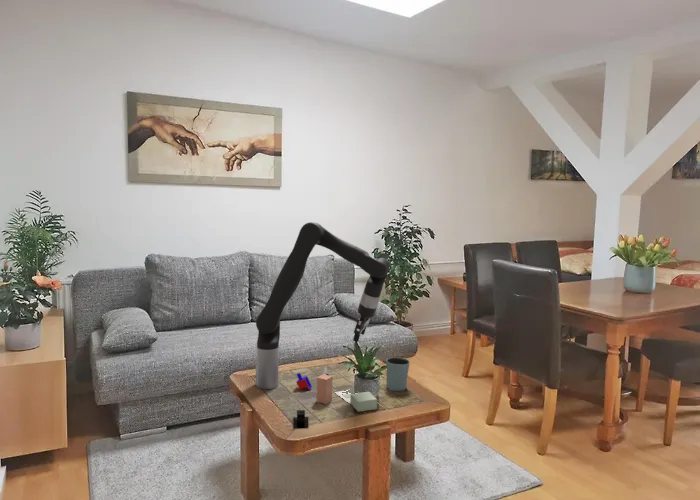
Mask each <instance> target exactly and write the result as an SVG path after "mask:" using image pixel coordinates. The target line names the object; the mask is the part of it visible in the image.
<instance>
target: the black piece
mask: <svg viewBox="0 0 700 500" xmlns="http://www.w3.org/2000/svg"><path fill="white" fill-rule="evenodd" d="M292 421H293V422H292V423H293V424H292V429H295V430H296V429H299V430H300V429H309V416H306V410H305V409H302V410H301V409H298V410H296V416H293V418H292Z"/></svg>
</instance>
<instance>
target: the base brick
mask: <svg viewBox="0 0 700 500" xmlns="http://www.w3.org/2000/svg"><path fill="white" fill-rule="evenodd" d="M349 404H350V405H351V404H352V405H353V406H352V405H351V406H352V407H353V408H354V409H355V410H356V411H357V412H364V411H371V410H373V411H374V410H377V409H378V399H377V398H376V396H374V394H373V393H372V392H370V391H365V392H364V391H363V392H358V393H355V394H351V399H350V403H349Z"/></svg>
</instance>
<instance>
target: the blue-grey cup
mask: <svg viewBox="0 0 700 500" xmlns="http://www.w3.org/2000/svg"><path fill="white" fill-rule="evenodd" d="M385 363H386V364H385V365H386V366H387V370H386V371H385V372H386V373H385V374H386V388H387V389H388V390H390V391H396V392H401V391H402V392H403V391H404V390H406V389H407V385H408V384H407V382H408V376H409V375H408V374H409V369H410V368H409V367H410V360H409V359H407V358H405V357H400V356H399V357H398V356H393V357H391V356H390V357H387V358H386V360H385Z"/></svg>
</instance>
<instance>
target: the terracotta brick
mask: <svg viewBox="0 0 700 500" xmlns="http://www.w3.org/2000/svg"><path fill="white" fill-rule="evenodd" d="M331 401H333V375H330V374H329V375H327V374H326V375H324V374H323V373H322V374H321V376H320V375H319V376H317V377H316V402H318V403H322V404H324V405H327V404H329V403H330V402H331ZM326 403H327V404H326Z"/></svg>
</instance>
